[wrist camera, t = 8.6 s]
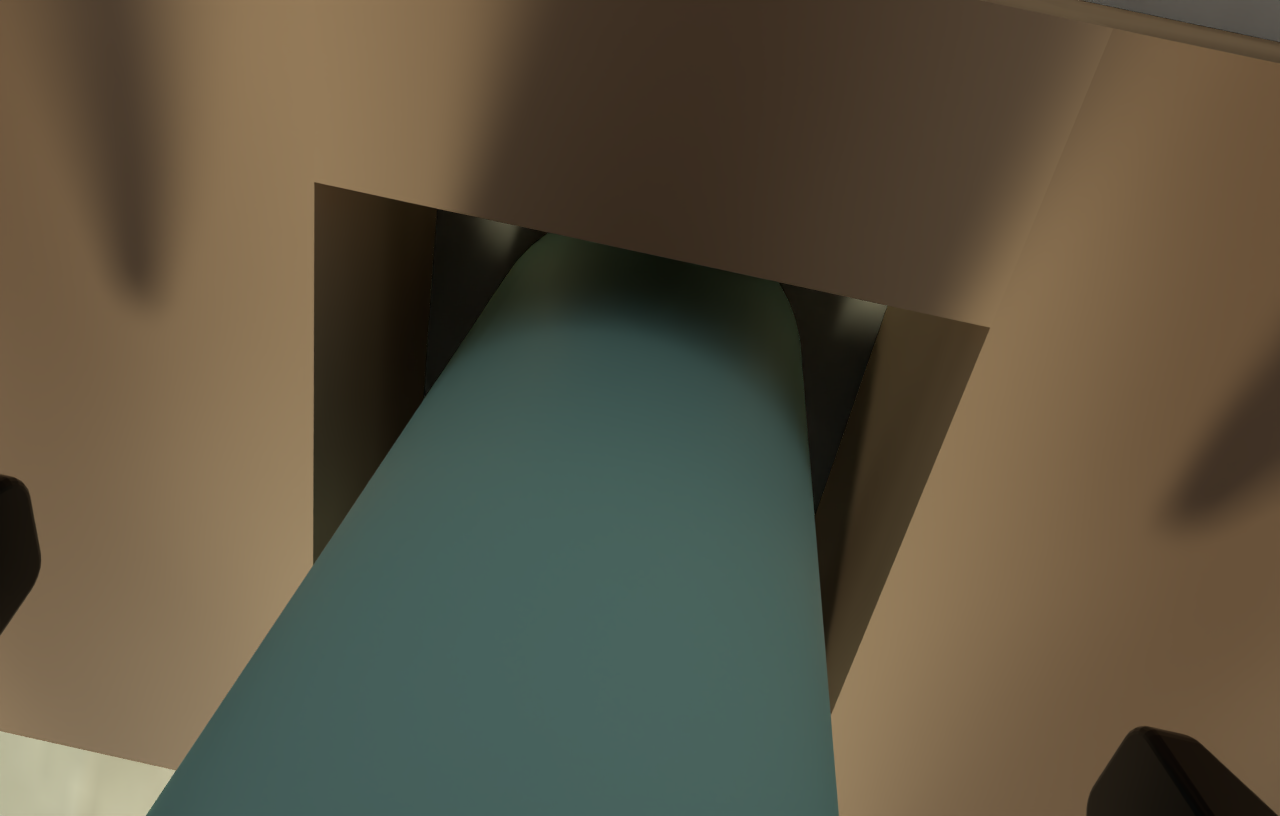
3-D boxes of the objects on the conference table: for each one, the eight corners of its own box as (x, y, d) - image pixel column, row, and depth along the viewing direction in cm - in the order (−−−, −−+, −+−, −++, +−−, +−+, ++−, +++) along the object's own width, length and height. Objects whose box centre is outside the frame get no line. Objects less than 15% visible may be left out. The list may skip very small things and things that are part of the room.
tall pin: (840, 246, 11) (1163, 1729, 2) (757, 518, 13) (746, 1854, 4) (504, 175, 11) (-547, 1330, 2) (475, 457, 13) (-130, 1645, 4)
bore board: (1519, 93, 9) (1892, 192, 6) (1092, 758, 14) (1183, 995, 11) (-44, -237, 9) (-430, -297, 6) (78, 535, 14) (-106, 707, 11)
